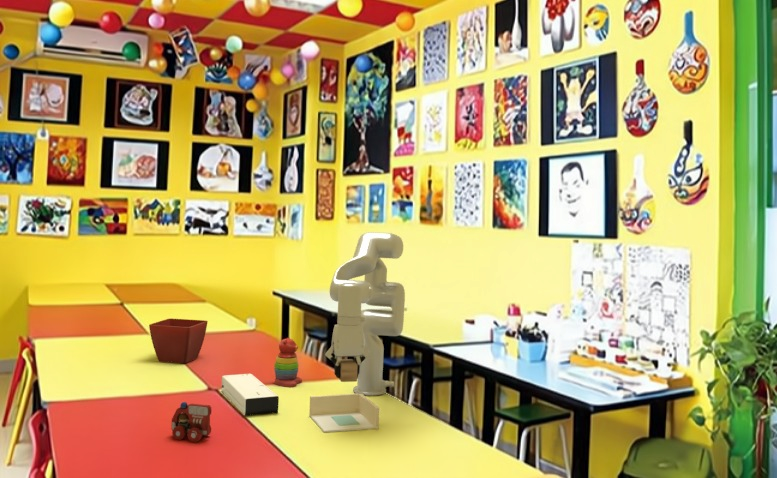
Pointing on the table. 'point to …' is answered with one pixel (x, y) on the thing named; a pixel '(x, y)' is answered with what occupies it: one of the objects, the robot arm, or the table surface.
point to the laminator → (249, 394)
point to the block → (348, 370)
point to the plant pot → (178, 339)
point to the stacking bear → (287, 364)
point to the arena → (344, 412)
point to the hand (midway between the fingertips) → (346, 376)
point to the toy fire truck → (191, 421)
